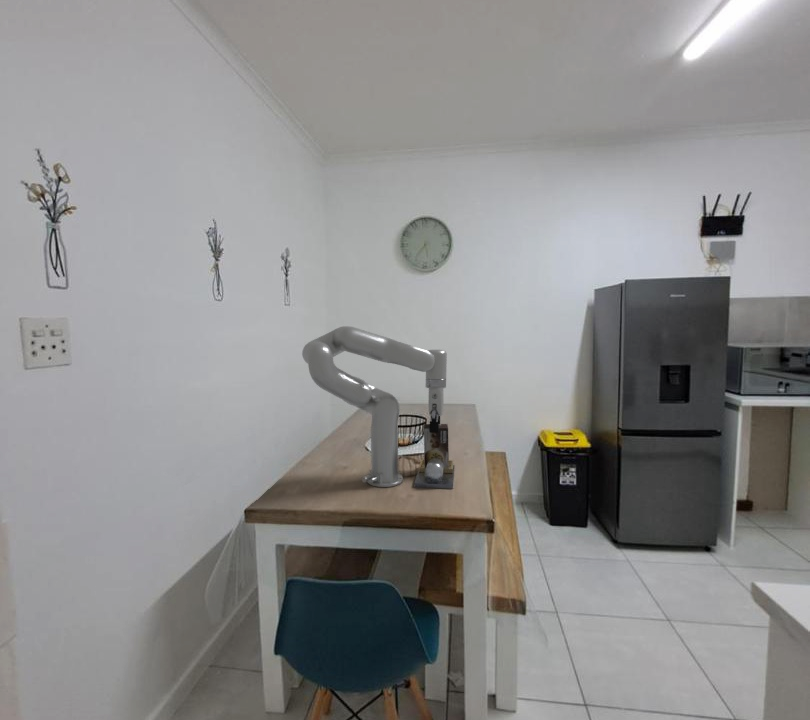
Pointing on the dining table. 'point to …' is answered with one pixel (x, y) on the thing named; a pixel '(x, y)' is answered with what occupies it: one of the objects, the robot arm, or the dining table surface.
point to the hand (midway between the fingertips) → (434, 429)
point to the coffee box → (436, 445)
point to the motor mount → (435, 475)
